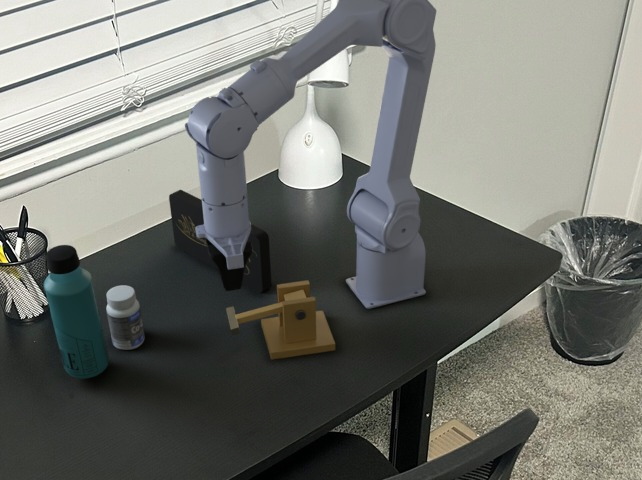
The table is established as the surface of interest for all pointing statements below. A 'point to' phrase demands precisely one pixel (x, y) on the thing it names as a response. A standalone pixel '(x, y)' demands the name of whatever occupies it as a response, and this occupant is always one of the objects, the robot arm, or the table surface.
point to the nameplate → (184, 223)
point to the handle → (259, 312)
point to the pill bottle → (124, 318)
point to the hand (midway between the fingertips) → (232, 285)
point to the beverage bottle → (75, 314)
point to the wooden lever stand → (297, 325)
